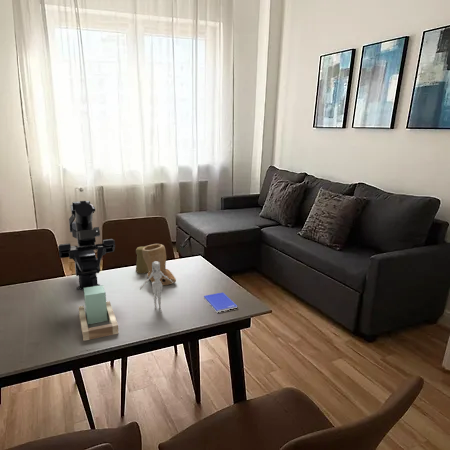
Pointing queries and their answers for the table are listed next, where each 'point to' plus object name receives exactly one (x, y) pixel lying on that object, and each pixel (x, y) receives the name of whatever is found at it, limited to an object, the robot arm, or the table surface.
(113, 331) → the chute
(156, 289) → the human figurine
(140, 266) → the cork
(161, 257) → the tan hollow piece
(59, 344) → the table surface
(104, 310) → the sage block
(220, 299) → the hard drive
